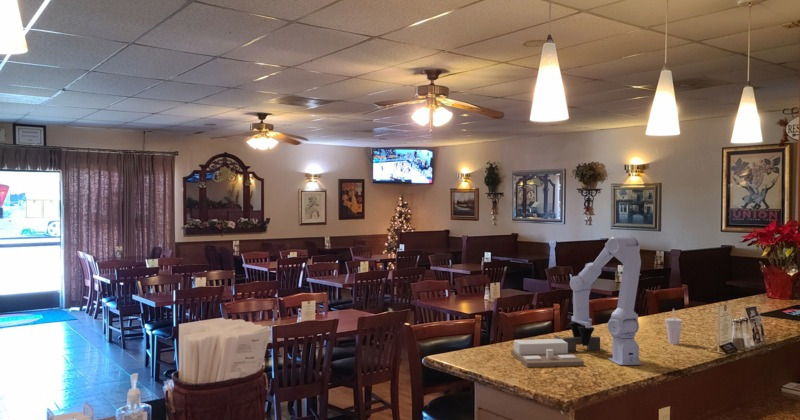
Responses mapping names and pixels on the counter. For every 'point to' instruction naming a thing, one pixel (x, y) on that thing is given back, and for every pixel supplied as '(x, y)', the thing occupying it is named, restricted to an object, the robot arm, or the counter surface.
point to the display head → (544, 353)
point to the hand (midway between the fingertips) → (581, 343)
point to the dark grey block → (581, 343)
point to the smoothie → (673, 329)
